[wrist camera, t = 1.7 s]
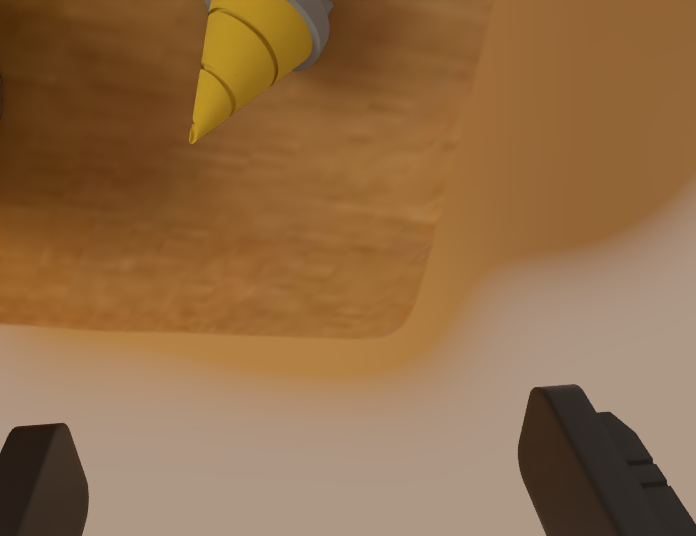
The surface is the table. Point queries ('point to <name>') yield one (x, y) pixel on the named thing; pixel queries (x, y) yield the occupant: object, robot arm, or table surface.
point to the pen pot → (1, 96)
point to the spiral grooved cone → (253, 52)
